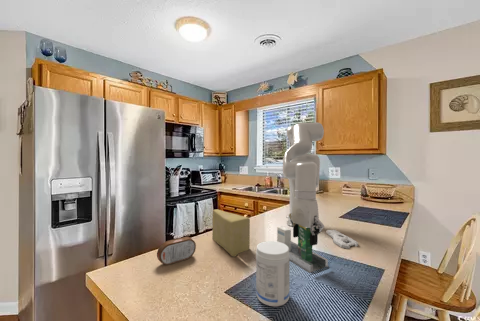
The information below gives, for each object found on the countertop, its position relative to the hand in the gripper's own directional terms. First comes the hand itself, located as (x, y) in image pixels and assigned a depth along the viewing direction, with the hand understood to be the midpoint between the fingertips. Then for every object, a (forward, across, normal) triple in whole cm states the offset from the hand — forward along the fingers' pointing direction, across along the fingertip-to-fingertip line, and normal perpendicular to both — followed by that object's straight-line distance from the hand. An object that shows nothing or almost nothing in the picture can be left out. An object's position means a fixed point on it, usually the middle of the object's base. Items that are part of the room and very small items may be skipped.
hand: (304, 240), depth 83 cm
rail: (+9, -4, 0) cm, 10 cm away
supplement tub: (+9, +10, -23) cm, 27 cm away
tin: (+9, -25, -42) cm, 50 cm away
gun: (+10, -8, +32) cm, 34 cm away
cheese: (+9, -29, -19) cm, 36 cm away
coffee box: (+7, 0, 0) cm, 7 cm away
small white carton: (+8, -12, 0) cm, 14 cm away
